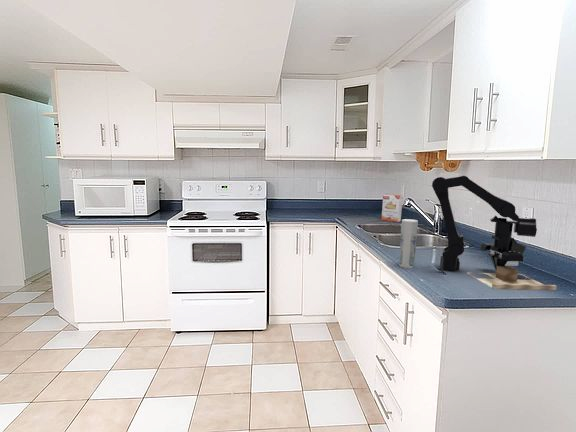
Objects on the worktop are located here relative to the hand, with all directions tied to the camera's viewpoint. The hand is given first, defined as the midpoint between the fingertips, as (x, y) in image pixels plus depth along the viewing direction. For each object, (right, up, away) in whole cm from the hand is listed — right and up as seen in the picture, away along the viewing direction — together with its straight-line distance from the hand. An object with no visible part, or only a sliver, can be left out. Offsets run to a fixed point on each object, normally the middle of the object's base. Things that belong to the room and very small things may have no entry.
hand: (498, 273), depth 142 cm
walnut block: (0, -2, -4) cm, 5 cm away
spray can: (-31, +1, +15) cm, 35 cm away
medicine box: (+14, 0, +18) cm, 23 cm away
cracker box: (0, +18, +149) cm, 150 cm away
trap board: (0, -3, -6) cm, 7 cm away
